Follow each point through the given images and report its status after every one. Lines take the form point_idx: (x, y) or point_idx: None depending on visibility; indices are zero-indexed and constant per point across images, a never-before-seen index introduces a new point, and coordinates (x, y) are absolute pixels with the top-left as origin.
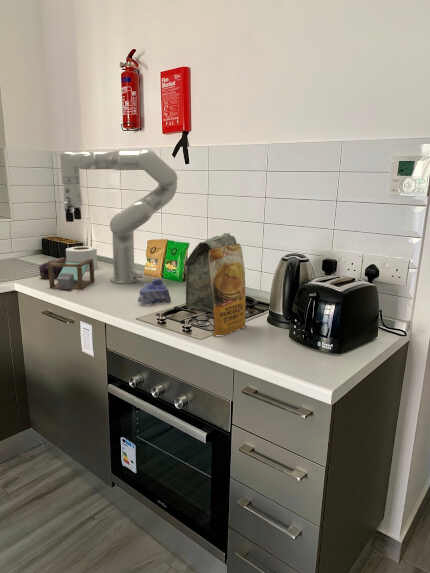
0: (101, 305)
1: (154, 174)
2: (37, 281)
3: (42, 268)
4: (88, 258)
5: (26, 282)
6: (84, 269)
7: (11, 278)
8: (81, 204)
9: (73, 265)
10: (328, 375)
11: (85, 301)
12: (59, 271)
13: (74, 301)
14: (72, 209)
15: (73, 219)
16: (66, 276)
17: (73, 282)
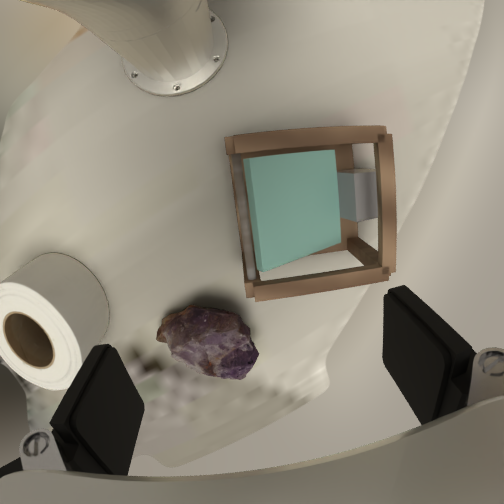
0: (450, 30)
1: None
2: (282, 335)
3: (256, 357)
4: (57, 280)
5: (302, 354)
6: (287, 154)
7: (269, 410)
8: (33, 499)
9: (392, 158)
10: None
11: (442, 75)
12: (214, 310)
13: (450, 104)
14: (474, 401)
15: (404, 297)
16: (374, 188)
17: (342, 171)
